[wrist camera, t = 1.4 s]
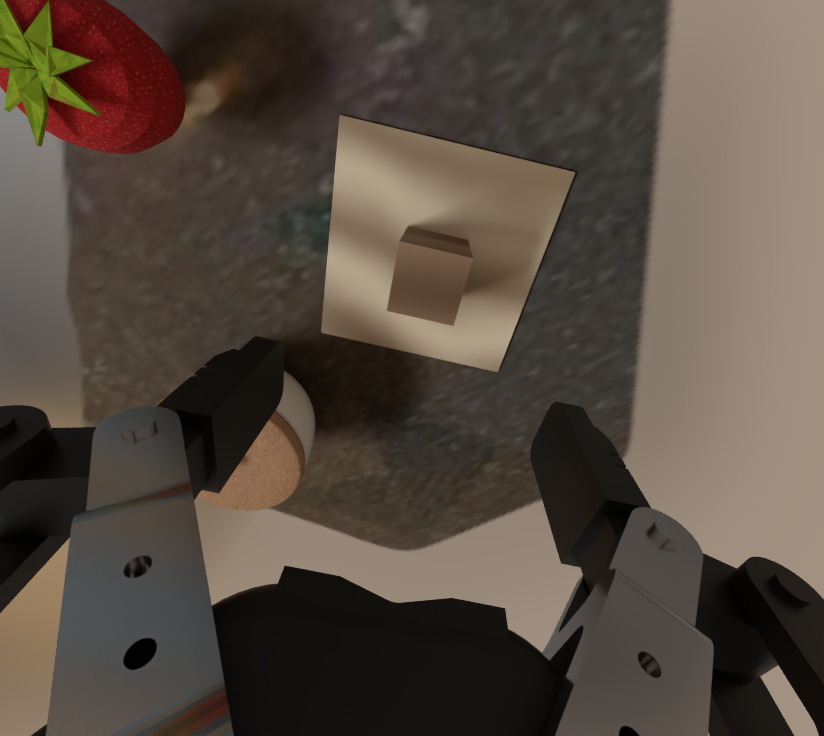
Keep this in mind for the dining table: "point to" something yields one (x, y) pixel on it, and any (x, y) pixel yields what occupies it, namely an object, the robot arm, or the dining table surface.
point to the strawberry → (87, 75)
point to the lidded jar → (272, 456)
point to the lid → (434, 242)
